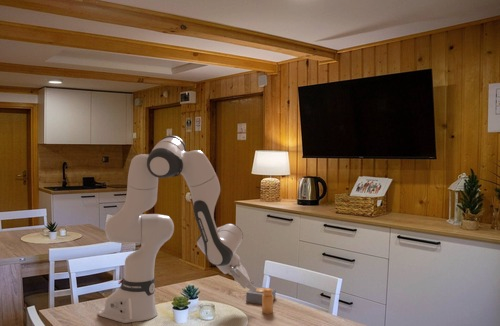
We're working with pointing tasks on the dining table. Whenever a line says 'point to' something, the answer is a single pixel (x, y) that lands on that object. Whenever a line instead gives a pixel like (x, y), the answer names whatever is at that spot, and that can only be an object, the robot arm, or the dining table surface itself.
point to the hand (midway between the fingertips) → (253, 287)
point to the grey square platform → (257, 295)
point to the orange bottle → (267, 301)
